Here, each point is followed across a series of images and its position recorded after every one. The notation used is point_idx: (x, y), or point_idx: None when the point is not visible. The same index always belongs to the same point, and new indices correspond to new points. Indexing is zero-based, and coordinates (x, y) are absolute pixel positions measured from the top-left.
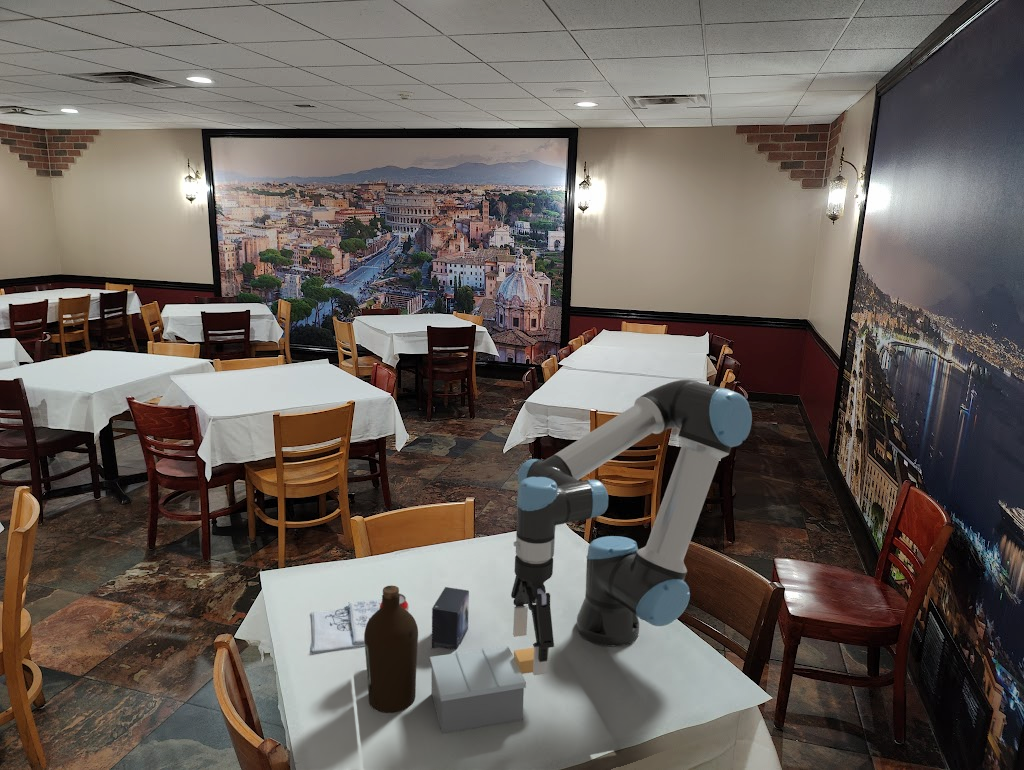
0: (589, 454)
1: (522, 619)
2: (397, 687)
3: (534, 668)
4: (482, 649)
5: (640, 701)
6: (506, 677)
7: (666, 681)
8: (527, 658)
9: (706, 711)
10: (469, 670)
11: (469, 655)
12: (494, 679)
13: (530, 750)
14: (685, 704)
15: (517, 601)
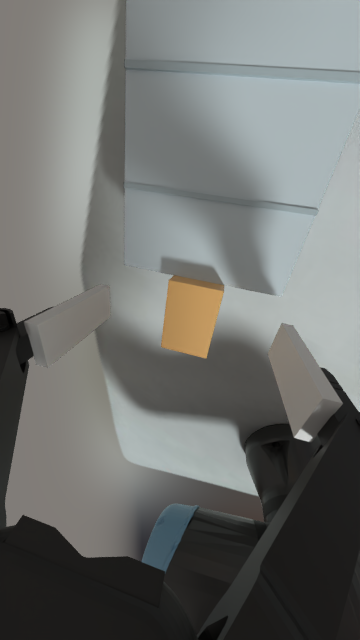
0: None
1: (286, 379)
2: None
3: (89, 290)
4: (313, 210)
5: (149, 394)
6: (153, 226)
7: (168, 429)
8: (175, 305)
9: (118, 424)
10: (231, 108)
11: (315, 143)
12: (156, 186)
13: (105, 233)
14: (131, 419)
15: (328, 445)
